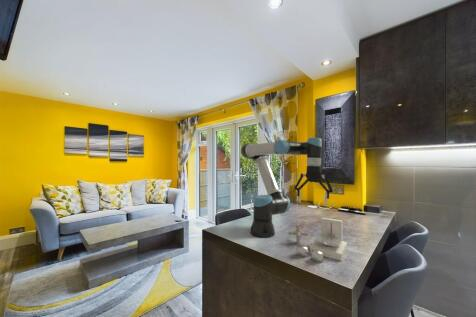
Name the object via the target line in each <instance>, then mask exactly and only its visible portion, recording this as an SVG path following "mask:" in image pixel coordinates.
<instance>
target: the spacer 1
mask: <svg viewBox="0 0 476 317" xmlns="http://www.w3.org/2000/svg"><path fill="white" fill-rule="evenodd" d="M296 248H297V249H296V253H297V254H296V255H297V256H298V257H299V256H300V258H308V257H309V246H307V245H306V244H298V245H297V247H296Z"/></svg>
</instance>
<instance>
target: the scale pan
mask: <svg viewBox="0 0 476 317" xmlns="http://www.w3.org/2000/svg"><path fill="white" fill-rule="evenodd" d="M313 242H318V243H322V244H327V245H331V246H335V247H339V246H340V244H341V242H342V238H339V237H334V236H329V235H324V234H322V233H319V234H317V236H316V237H315V238H314V239H313Z"/></svg>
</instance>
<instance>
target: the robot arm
mask: <svg viewBox="0 0 476 317" xmlns="http://www.w3.org/2000/svg"><path fill="white" fill-rule="evenodd" d="M322 144H323V142H322V139H321V138H320V137H308V138H307V141H292V140H282V139H279V140H276V141H272V142H263V143H248V142H247V143H245V144H243V145H242V146H241V148H240V154H241V156H242V157H243V158H244V159H247V160H252V161H253V164H255V165H256V166H257V168H258V172H259V174H260V177H261V179H262V183H263V184H264V188H265V191H266V194H260V195H256V196H254V197H253V198H254V199H253V215H252V216H253V221H252V224H251V227H250V234H251V235H252V236H254V237H258V238H271V237H274V236H275V235H276V234H275V233H276V232H275V231H276V230H275V226H274V223H273V216H275V215H279V214H280V215H283V214H285V213H288V212H289V210H290V208H291V200H290V198H289V196H287V195H285V194H284V192H283V190H281V189H280V188H279V185H278V182H277V180H276V178H275V175H274V173H273V170H272V168H271V165H270V163H269V159H270V156H271V155H291V156H292V155H293V156H306V165H307V166H306V173H300V175H299V178H298V181H297V182H296V184H295V185H294V187H293V189H294V190H296V191H297V192H296V193H297V194H296V196H297V197H298V198H299V200H298V204H299V203H300V204H301V203H302V200H301V199H302V198H301V195H302V189H303V187H305V186H306V184H307V183H309V182H310V183H319V185H320V186H321V187H322V188H323V189H324V190H325V192H324V205H325V206H327V204H328V203H327V202H328V200H329V199H330V194H331V193H333V192H334V190H333V188H332V186H331V184H330V181H329V180H328V175H327V174H322V171H321V170H322V166H321V165H322V149H323V148H322V147H323V146H322ZM304 178H306V179H305V180H304V182H303V183H301V181H302V179H304ZM321 179H324V182H325V184H326V185H327V187H326V186H325V185H324V183H323V182H322V181H321ZM300 183H301V185H300ZM299 185H300V186H299Z"/></svg>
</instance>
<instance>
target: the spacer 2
mask: <svg viewBox="0 0 476 317" xmlns="http://www.w3.org/2000/svg"><path fill="white" fill-rule="evenodd" d="M311 261H312V262H315V263H317V264H321V263H324V256H323V251H321V250H318V249H312V253H311Z"/></svg>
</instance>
